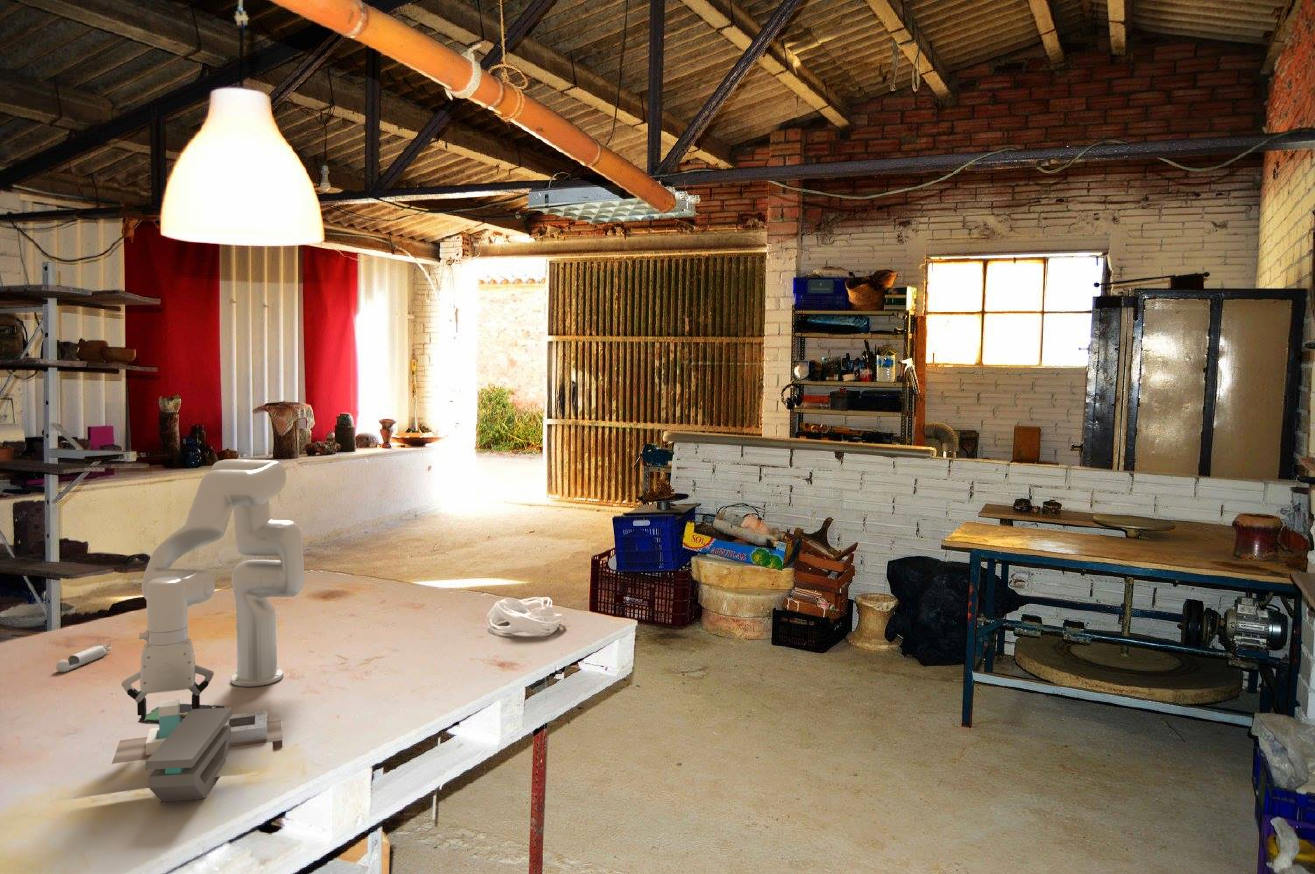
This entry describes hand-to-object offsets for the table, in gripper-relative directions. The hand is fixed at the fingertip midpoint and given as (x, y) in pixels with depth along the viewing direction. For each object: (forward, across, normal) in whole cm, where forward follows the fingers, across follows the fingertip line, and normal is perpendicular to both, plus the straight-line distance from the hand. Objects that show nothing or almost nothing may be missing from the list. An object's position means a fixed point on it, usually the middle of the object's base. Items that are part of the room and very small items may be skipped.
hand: (169, 714), depth 192 cm
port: (+6, +14, 0) cm, 15 cm away
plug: (+6, 0, 0) cm, 6 cm away
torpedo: (+8, -26, +71) cm, 76 cm away
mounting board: (+8, +6, 0) cm, 10 cm away
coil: (+8, +95, +63) cm, 115 cm away
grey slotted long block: (+8, +6, -19) cm, 22 cm away
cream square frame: (+6, 0, 0) cm, 6 cm away
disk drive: (+9, +1, +17) cm, 19 cm away
